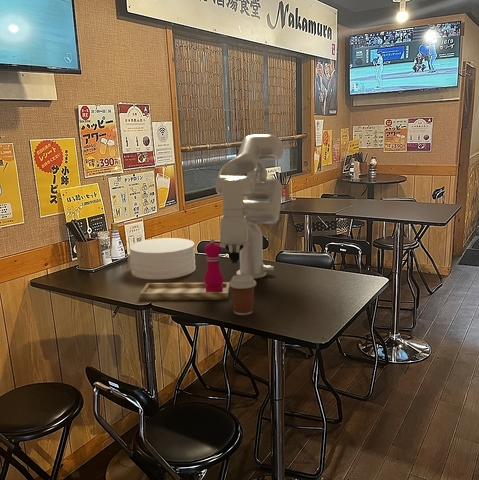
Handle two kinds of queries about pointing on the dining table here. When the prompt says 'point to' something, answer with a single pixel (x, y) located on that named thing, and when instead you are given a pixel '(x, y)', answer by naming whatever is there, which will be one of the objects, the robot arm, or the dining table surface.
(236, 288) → the coffee cup
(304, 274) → the dining table surface
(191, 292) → the birch tray
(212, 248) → the pepper mill
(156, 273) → the plate stack
